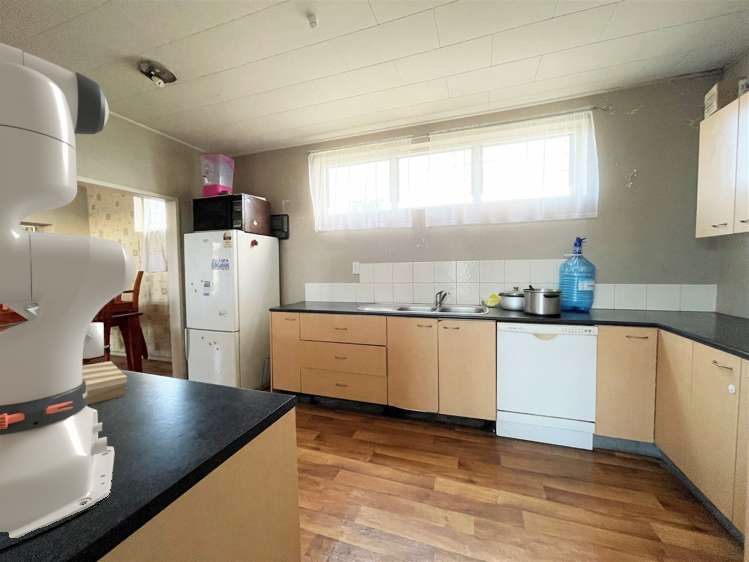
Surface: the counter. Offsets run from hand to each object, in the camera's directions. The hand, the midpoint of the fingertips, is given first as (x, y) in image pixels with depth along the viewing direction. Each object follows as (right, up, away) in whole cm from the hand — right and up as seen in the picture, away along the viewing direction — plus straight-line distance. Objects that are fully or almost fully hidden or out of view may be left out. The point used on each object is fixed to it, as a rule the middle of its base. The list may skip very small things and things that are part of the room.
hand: (94, 337), depth 81 cm
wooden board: (-4, -15, +2) cm, 16 cm away
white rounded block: (-1, -5, 0) cm, 5 cm away
